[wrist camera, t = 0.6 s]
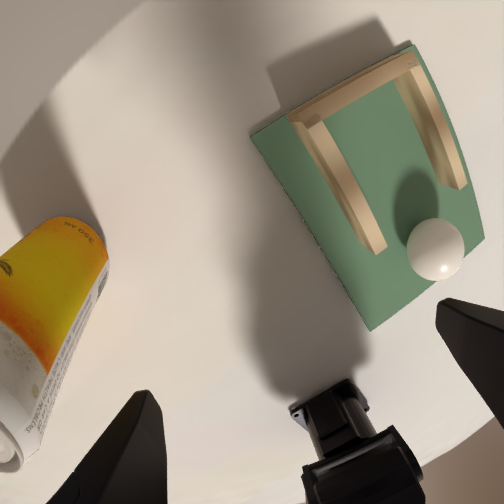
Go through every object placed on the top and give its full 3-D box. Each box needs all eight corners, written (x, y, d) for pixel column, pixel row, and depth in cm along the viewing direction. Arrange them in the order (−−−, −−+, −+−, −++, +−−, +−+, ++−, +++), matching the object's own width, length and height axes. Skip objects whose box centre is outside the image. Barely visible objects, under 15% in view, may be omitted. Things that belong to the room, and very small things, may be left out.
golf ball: (445, 244, 23) (480, 266, 19) (405, 276, 24) (438, 303, 20) (430, 199, 22) (469, 216, 18) (387, 232, 22) (422, 255, 18)
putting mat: (482, 236, 24) (485, 238, 24) (368, 329, 26) (370, 331, 25) (411, 45, 17) (414, 44, 17) (249, 137, 19) (250, 137, 18)
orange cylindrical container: (38, 203, 18) (-122, 329, 4) (119, 225, 19) (14, 407, 6) (32, 282, 20) (-72, 438, 6) (106, 305, 21) (44, 495, 8)
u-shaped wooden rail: (446, 176, 21) (467, 183, 19) (359, 241, 22) (375, 255, 20) (391, 55, 17) (412, 50, 15) (285, 115, 18) (297, 113, 16)
